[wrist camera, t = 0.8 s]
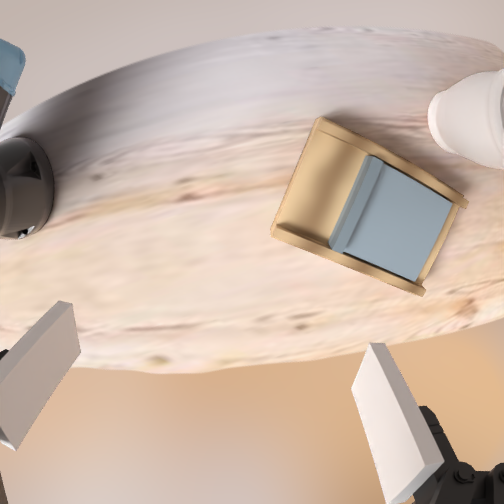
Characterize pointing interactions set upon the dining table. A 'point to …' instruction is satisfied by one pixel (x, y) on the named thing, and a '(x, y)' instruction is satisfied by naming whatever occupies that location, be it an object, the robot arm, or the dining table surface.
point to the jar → (471, 118)
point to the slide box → (336, 193)
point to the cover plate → (389, 220)
